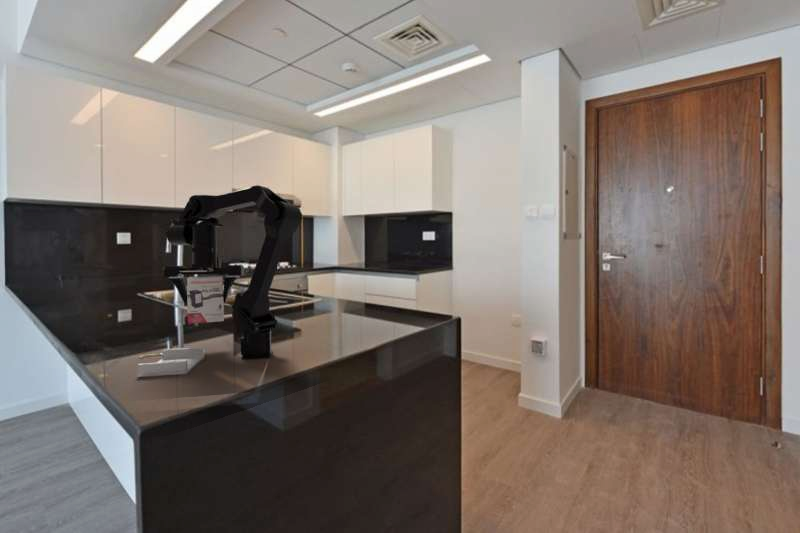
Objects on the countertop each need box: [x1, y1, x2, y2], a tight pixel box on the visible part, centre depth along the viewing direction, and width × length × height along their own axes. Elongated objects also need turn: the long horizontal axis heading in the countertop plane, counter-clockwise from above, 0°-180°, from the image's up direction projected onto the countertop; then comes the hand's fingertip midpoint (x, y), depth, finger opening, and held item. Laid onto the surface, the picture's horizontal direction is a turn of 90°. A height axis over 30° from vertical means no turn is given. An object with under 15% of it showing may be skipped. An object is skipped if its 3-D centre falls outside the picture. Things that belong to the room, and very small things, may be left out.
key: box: [139, 352, 162, 360], centre depth 97 cm, size 6×2×1 cm, turn 123°
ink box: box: [186, 275, 225, 325], centre depth 103 cm, size 8×5×12 cm, turn 117°
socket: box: [137, 346, 206, 378], centre depth 88 cm, size 9×14×2 cm, turn 13°
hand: (205, 303), depth 103 cm, fingers closed on ink box, 9 cm apart
